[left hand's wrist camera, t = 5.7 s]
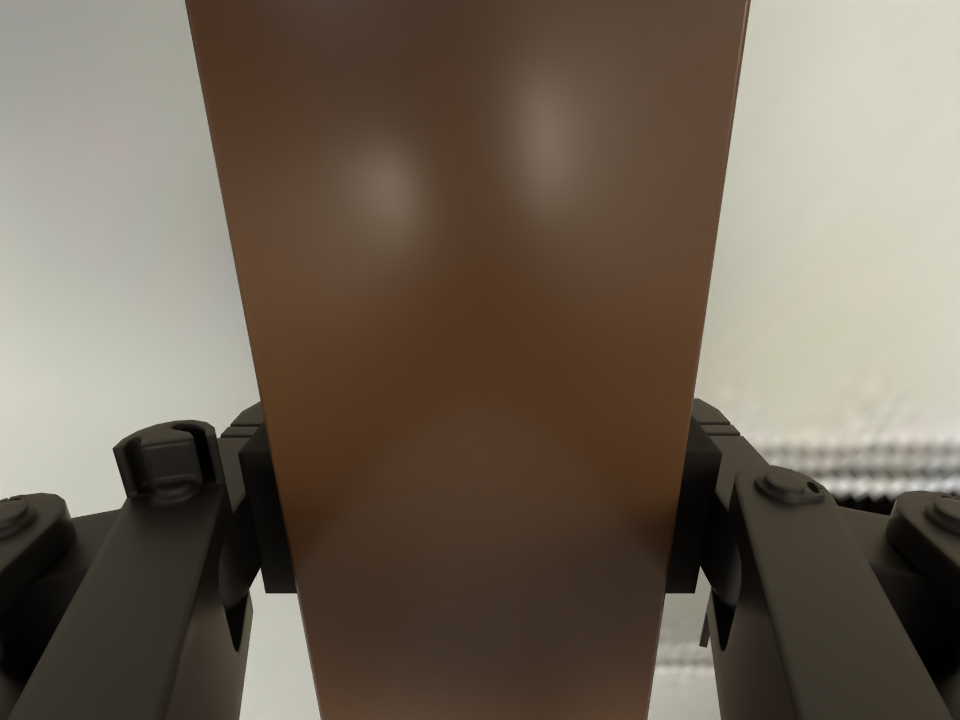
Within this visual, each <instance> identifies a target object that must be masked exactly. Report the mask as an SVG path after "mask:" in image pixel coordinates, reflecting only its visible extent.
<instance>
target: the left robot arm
mask: <svg viewBox="0 0 960 720" xmlns="http://www.w3.org/2000/svg"><path fill="white" fill-rule="evenodd" d="M113 452H114V455H115V458H116V462H117V465H118V468H119V472H120V475H121V478H122V482H123V485H124V488H125V492H126V495H127V499H126V501H125V503H124V504H123V506H122V508H121V509H118V510H113V511H108V512H103V513H97V514H92V515H87V516H81V517H76V518H71V517H70V514H69V511H68V508H67V505H66V503H65V500H64V499H62V498H61V497H59V496H58V495H56V494H46V493H37V494H29V495H18V496H13V497H10V499H7V498H6V499H3V500H0V720H239V716H240V709H241V701H242V693H243V686H244V678H245V670H246V663H247V655H248V648H249V640H250V632H251V625H252V617H253V607H252V600H251V596H250V591H249V588H250V586H251V584H252V583H253V581H254V579H255V577H256V575H257V573H258V571H259V569H260V567H261V572H262V577H263V582H264V587H265V592H266V593H297V590H296V584H295V579H294V574H293V568H292V563H291V558H290V553H289V547H288V542H287V537H286V531H285V526H284V521H283V516H282V510H281V505H280V500H279V494H278V489H277V484H276V479H275V473H274V468H273V463H272V457H271V452H270V447H269V442H268V436H267V431H266V426H265V420H264V415H263V410H262V405H261V401H260V402H258V403H257V404H255V405H253V406H251V407H249V408H248V409H246V410H244V411H242V412H241V414H240V415H239V416H238V417H237V418H236V419H235V420H234V421H233V422H232V423H231V426H230V427H228V428H227V429H226V430H225V431H224V432H223V433H222V434H221V437H220V438H218V439H217V437H216V433H215V428H214V427H213V426H211V425H210V424H208V423H207V422H202V421H196V420H180V421H172V422H167V423H162V424H157V425H154V426H151V427H148V428H145V429H142V430H139V431H137V432H135V433H133V434H131V435H130V436H128V437H126V438H124V439H122V440H121V441H120V442H119V443H118V444H117V445H116V446H115V447H114V448H113ZM700 566H701V568H702V570H703V571H704V573H705V575H706V577H707V579H708V581H709V583H710V585H711V591H710V596H709V600H708V605H707V610H706V614H705V619H704V624H703V628H702V633H701V639H700V645H699V646H702V647H706V648H707V644H708V640H709V636H710V639H711V646H712V654H713V661H714V669H715V677H716V684H717V692H718V699H719V707H720V715H721V720H960V497H957V496H954V497H953V496H952V495H950V494H946V493H940V492H938V493H936V492H928V491H911V492H905V493H903V494H902V495H900V496H899V497H897V499H896V501H895V504H894V507H893V510H892V513H891V515H890V516H887V515H881V514H876V513H871V512H865V511H860V510H855V509H849V508H844V507H840V506H838V505H837V503H836V502H835V500H834V498H833V496H832V495H831V494H830V493H829V492H828V491H827V489H826V488H825V487H824V486H822V485H821V484H819V483H818V482H816V481H815V480H813V479H812V478H810V477H808V476H806V475H803V474H801V473H798V472H796V471H793V470H791V469H786V468H782V467H778V466H773V465H769V464H768V463H767V462H766V461H765V460H764V458H763V457H762V456H761V455H760V454H759V453H758V452H757V451H756V450H755V449H754V448H753V447H752V446H751V444H750V443H749V442H748V441H747V440H746V439H745V438H744V437H743V436H740V433H739V431H738V430H737V429H736V428H735V427H734V426H733V425H730V422H729V421H728V420H727V418H726V417H725V416H724V415H723V414H722V413H721V412H720V411H719V410H718V409H716V408H715V407H713V406H711V405H709V404H707V403H706V402H704V401H702V400H700V399H693V405H692V412H691V419H690V426H689V432H688V439H687V446H686V453H685V460H684V467H683V474H682V481H681V488H680V495H679V502H678V509H677V516H676V523H675V530H674V537H673V544H672V551H671V558H670V564H669V571H668V578H667V585H666V592H665V593H695V589H696V584H697V579H698V574H699V569H700Z"/></svg>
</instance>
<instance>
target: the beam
mask: <svg viewBox="0 0 960 720" xmlns="http://www.w3.org/2000/svg"><path fill="white" fill-rule="evenodd" d="M750 2H751V0H185V3H186V8H187V14H188V19H189V24H190V29H191V35H192V40H193V45H194V51H195V56H196V61H197V66H198V72H199V77H200V82H201V88H202V93H203V98H204V103H205V109H206V114H207V119H208V125H209V130H210V135H211V140H212V146H213V151H214V156H215V162H216V167H217V172H218V177H219V183H220V188H221V193H222V199H223V204H224V209H225V214H226V220H227V225H228V230H229V236H230V241H231V246H232V251H233V257H234V262H235V267H236V273H237V278H238V283H239V288H240V294H241V299H242V304H243V310H244V315H245V320H246V325H247V331H248V336H249V341H250V346H251V352H252V357H253V362H254V368H255V373H256V378H257V383H258V389H259V394H260V399H261V405H262V410H263V415H264V420H265V426H266V431H267V436H268V442H269V447H270V452H271V457H272V463H273V468H274V473H275V479H276V484H277V489H278V494H279V500H280V505H281V510H282V516H283V521H284V526H285V531H286V537H287V542H288V547H289V553H290V558H291V563H292V568H293V574H294V579H295V584H296V590H297V595H298V600H299V605H300V611H301V616H302V621H303V627H304V632H305V637H306V642H307V648H308V653H309V658H310V664H311V669H312V674H313V679H314V685H315V690H316V695H317V701H318V706H319V711H320V716H321V720H647V717H648V710H649V703H650V696H651V690H652V683H653V676H654V669H655V662H656V655H657V648H658V641H659V634H660V627H661V620H662V613H663V606H664V599H665V592H666V585H667V578H668V571H669V564H670V558H671V551H672V544H673V537H674V530H675V523H676V516H677V509H678V502H679V495H680V488H681V481H682V474H683V467H684V460H685V453H686V446H687V439H688V432H689V426H690V419H691V412H692V405H693V398H694V391H695V384H696V377H697V370H698V363H699V356H700V349H701V342H702V335H703V328H704V321H705V314H706V307H707V300H708V294H709V287H710V280H711V273H712V266H713V259H714V252H715V245H716V238H717V231H718V224H719V217H720V210H721V203H722V196H723V189H724V182H725V175H726V168H727V161H728V155H729V148H730V141H731V134H732V127H733V120H734V113H735V106H736V99H737V92H738V85H739V78H740V71H741V64H742V57H743V50H744V43H745V36H746V29H747V23H748V16H749V9H750Z"/></svg>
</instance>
